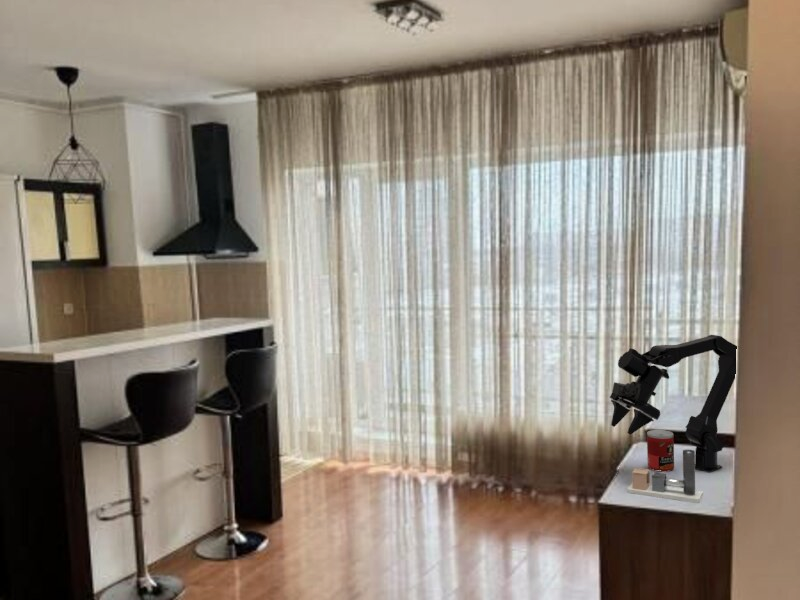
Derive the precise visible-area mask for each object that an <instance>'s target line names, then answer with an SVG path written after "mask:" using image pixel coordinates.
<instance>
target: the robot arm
mask: <svg viewBox="0 0 800 600" xmlns="http://www.w3.org/2000/svg"><path fill="white" fill-rule="evenodd" d="M737 346H738V345H736V344H734V343H732V342H730V341H729V340H727V339H726V338H724V337H723V336H721V335H717V334H716V335H715V334H710V335H707V336H704V337H701V338H697V339H694V340H689V341H686V342H681V343H678V344H658V345H653V346H651V347H650V349H649V350H648V351H646V352H644V353H642V354H641V353H640V352H638V351H637V350H636V349H634V348H631V347H630V348H629V349H628V351H626V352H624V353H623V354H622V355H621V356H620V357H619V359H618V362H617V365H618V368H619V369H621V370H622V371H625V372H626V373H628V374H629V375H631V376H633V377H635V378H636V377H637V379H636V380H635V381H631V382H630V383H629V382H626V383H621V382H613V387H612V391H611V394H610V396H609V399H610V401H611V403H612V406H613V413H612V418H611V422H610V426H612V427H613V428H615V427H616V426H617V425H618V424H619V423H620V422H621V421H622V420H623V418H625V417H626V416H627V415H628V413H630V412H631V410H630V408H633V413H634V416H633V418H632V420H631V423H630V425H629V427H628V430H627V434H629V435H633V434H634V433H635V432H636V431H638V430H640V429H641V428H643V427H644V426H646V425H647V424H650V423H652V422H655V420H656V421H657V420H659V418H660V416H661V411H660V409H658V408H657V407H655V406H653V405H652V404H650V403H649V400H650V399H651V398H652V396H653V397H655V396H656V395H657V392H655V391H656V388H657V386H658V385H659V383H660V381H661V379H662V378H664V379H667V380H669V379H670V375H669V373H668V369H666V368H671V367H672V366H675V365H676V364H678V363H680V362H681V360H683V359H686V358H688V357H692V356H697V355H700V354H703V353H707V352H711V351H713V352H714V354H716V355H717V356H718V360H717V364H718V372H717V375H716V377H715V380H714V382H713V384H712V386H711V388H710V391H709V393H708V395H707V397H706V400H705V402H704V405H703V406H702V409H701V411H700V413H698V414H697V416H694V415H690V417H689V420H688V423H687V424H686V425H685V428H686V430H685V435H686V438H687V440H689V442H690V444H691V446H693V447H695V469H698V470H701V471H705V472H709V473H711V472H714V471H716V470H719V469H722V468H723V465H720V464H718V452H722V451H723V448H724V443H723V442H722V441H721V440H720V439H718V437H717V433H718V422H717V421H718V418H719V416H720V413H721V411H722V409H723V407H724V404H725V402H726V400H727V398H728V396H729V393H730V392H731V389H732V387H733V384H734V382H735V379H736V378H735V374H736V349H737ZM650 364H651V365H650ZM658 366H659V367H658ZM660 366H661V367H664V368H661V367H660Z"/></svg>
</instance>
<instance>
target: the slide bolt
mask: <svg viewBox="0 0 800 600" xmlns="http://www.w3.org/2000/svg"><path fill="white" fill-rule="evenodd" d="M695 454H696V450H693V449H683V450H682V473H683V474H682V475H683V477H682V479H683V480H682V479H675V478H668V477H667V478H664V485H666V486H667V487H674V488H681V489H684V493H687V494H694V493H695V491H696V468H695Z"/></svg>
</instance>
